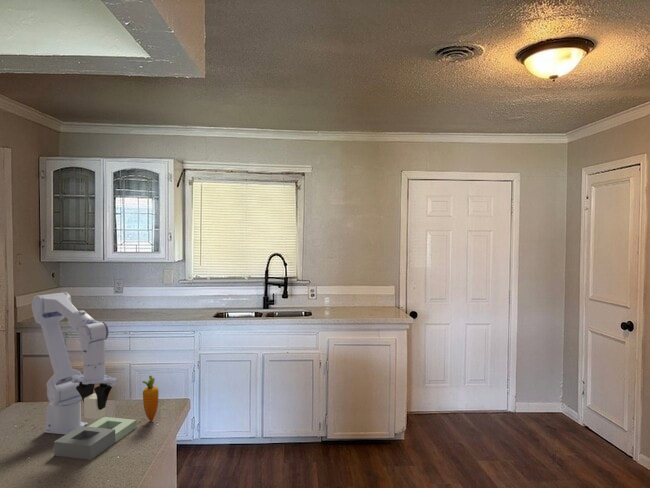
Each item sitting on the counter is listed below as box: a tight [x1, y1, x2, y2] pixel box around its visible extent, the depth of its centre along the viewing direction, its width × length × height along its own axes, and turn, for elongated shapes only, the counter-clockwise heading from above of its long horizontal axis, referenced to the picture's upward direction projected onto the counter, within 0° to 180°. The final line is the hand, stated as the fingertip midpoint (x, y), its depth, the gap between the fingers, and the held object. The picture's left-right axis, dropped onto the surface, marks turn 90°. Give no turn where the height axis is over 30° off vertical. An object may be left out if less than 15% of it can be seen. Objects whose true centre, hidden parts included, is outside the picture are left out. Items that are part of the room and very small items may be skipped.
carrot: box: [142, 375, 159, 422], centre depth 144 cm, size 5×5×15 cm
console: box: [53, 416, 137, 461], centre depth 132 cm, size 20×12×4 cm, turn 168°
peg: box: [83, 392, 107, 420], centre depth 130 cm, size 4×4×6 cm
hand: (95, 407), depth 131 cm, fingers closed on peg, 4 cm apart
